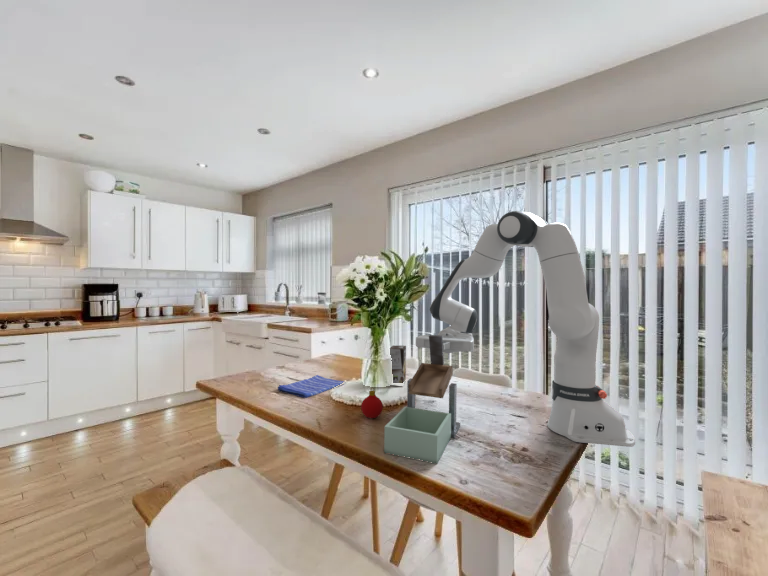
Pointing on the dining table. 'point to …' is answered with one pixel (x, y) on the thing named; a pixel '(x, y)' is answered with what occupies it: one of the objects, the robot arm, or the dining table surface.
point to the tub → (418, 434)
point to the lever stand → (452, 406)
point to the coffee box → (398, 363)
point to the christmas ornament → (372, 405)
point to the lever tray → (432, 372)
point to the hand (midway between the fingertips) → (439, 346)
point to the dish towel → (309, 386)
